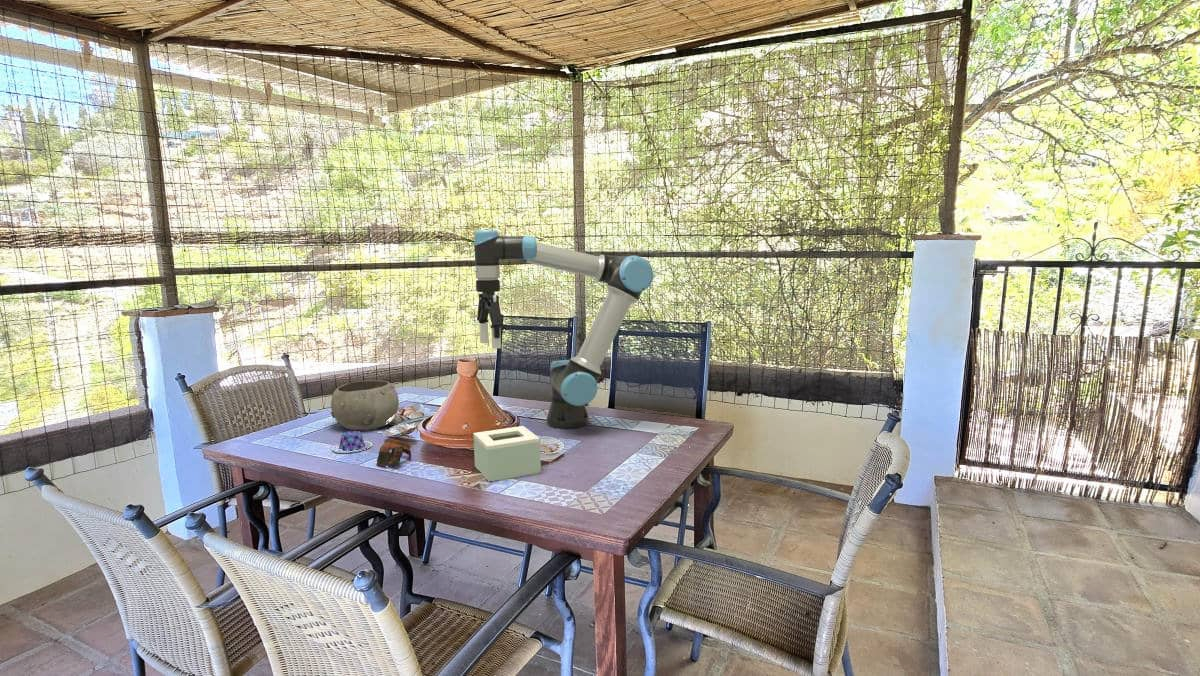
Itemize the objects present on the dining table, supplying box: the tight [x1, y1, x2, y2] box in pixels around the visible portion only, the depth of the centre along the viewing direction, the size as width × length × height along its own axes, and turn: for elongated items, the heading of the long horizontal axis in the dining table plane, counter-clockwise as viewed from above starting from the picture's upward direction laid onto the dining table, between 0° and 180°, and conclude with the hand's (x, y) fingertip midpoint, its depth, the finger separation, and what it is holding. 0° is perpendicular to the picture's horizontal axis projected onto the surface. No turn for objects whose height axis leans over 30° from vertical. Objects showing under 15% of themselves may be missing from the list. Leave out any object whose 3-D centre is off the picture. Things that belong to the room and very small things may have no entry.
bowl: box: [330, 379, 400, 431], centre depth 220 cm, size 23×23×15 cm
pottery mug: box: [376, 438, 412, 468], centre depth 180 cm, size 12×10×8 cm
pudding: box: [331, 430, 373, 454], centre depth 195 cm, size 12×12×5 cm
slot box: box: [472, 425, 542, 483], centre depth 173 cm, size 15×14×10 cm
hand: (490, 345), depth 196 cm, fingers open, 13 cm apart
